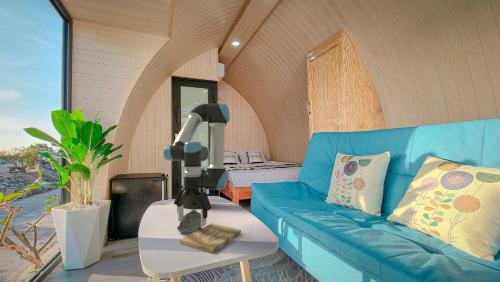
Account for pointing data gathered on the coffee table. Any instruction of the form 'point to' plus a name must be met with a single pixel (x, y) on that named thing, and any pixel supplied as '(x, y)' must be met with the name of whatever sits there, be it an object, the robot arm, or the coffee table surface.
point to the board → (210, 237)
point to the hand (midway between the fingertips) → (191, 223)
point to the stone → (190, 222)
